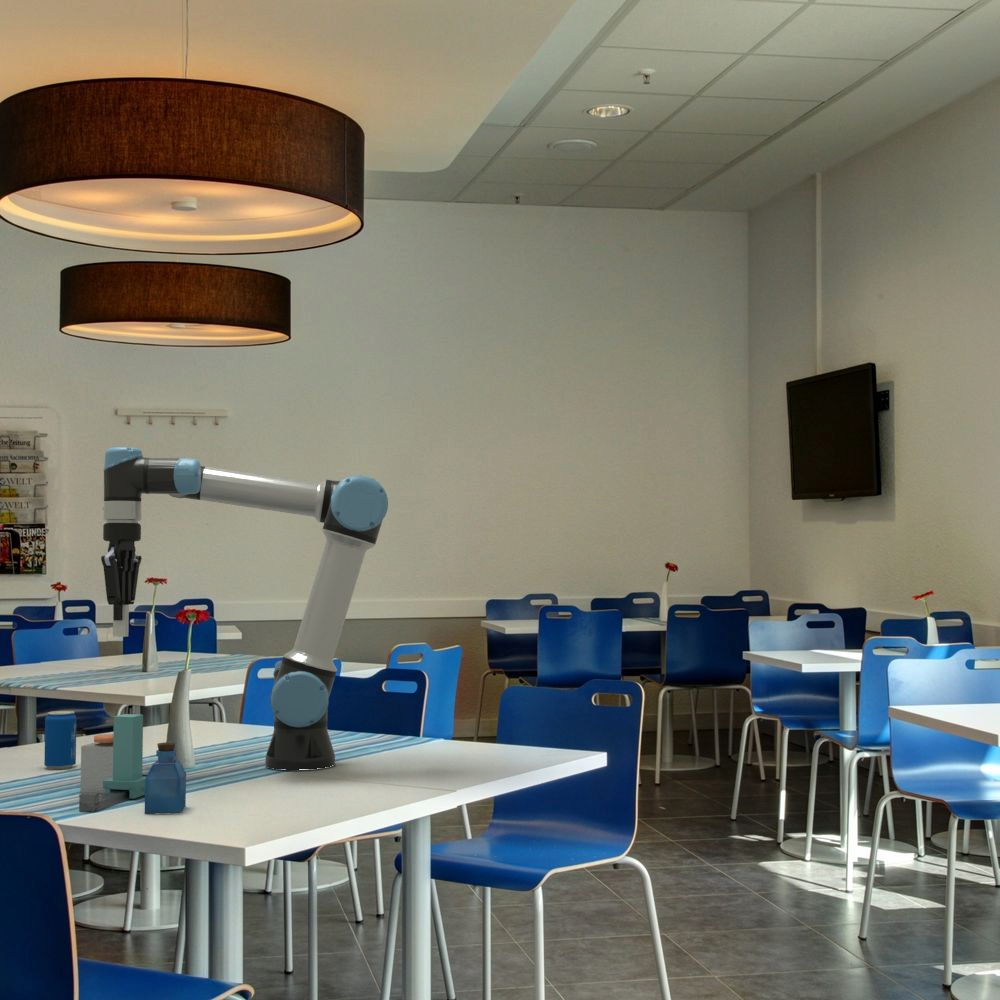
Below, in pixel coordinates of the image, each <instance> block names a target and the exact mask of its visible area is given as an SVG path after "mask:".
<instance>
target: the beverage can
mask: <svg viewBox="0 0 1000 1000" xmlns="http://www.w3.org/2000/svg"><path fill="white" fill-rule="evenodd" d="M44 720H45V721H44V762H43V763H44V766H45V767H46V768H47V769H48V770H56V771H57V770H60V771H61V770H68V769H69V770H70V769H72V768H73V766H75V765H76V763H77V762H76V761H77V716H76V715H75V711H73V710H56V711H49V712H47V715H46V717H45V719H44Z"/></svg>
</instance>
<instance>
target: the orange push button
mask: <svg viewBox="0 0 1000 1000" xmlns="http://www.w3.org/2000/svg"><path fill="white" fill-rule="evenodd" d="M95 742H97V743H99V745H103V746H112V745H113V734H112V733H108V734H106V733H105V734H96V735H94V736H93V743H95Z"/></svg>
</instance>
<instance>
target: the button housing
mask: <svg viewBox="0 0 1000 1000" xmlns="http://www.w3.org/2000/svg"><path fill="white" fill-rule="evenodd" d="M110 778H113V745H112V746H103V745H99V743H97V742H91V743H88V744H84V745H81V746H80V793H79V794H82V793H96V794H99V795H103V794H105V789H103V781H104V780H107V779H110Z"/></svg>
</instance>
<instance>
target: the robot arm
mask: <svg viewBox="0 0 1000 1000" xmlns="http://www.w3.org/2000/svg"><path fill="white" fill-rule="evenodd" d="M142 451H143V450H142V449H141V448H139V447H138V448H137V447H123V446H121V447H120V446H119V447H117V446H116V447H110V448H108V449H107V450H106V451H105V455H104V468H103V507H102V511H103V520H104V521H106V522H105V523H104V524H103V527H102V528H103V529H102V531H103V532H102V534H103V535H102V539H103V540H104V541H105V542H109V543H108V547H107V552H108V553H106V555H101V558H100V560H101V564H102V568H103V575H104V583H105V584H104V585H105V593H106V594H105V595H106V601H107V604H108V605H109V606H110V605H111V606H113V608H112V609H113V611H112V614H113V615H112V626H113V627H112V638H113V637H115V638H118V637H119V638H121V637H122V638H125V637H129V631H130V630H129V627H130V626H129V623H130V620H129V619H130V618H129V615H130V605H134V604H135V600H136V594H137V586H138V578H139V572H140V570H139V569H140V566H141V563H142V556H141V555H137V553H136V550H137V549H136V546H135V543H136V542H139V541H141V539H142V524H141V523H139V521H141V520H142V494H146V495H150V494H151V495H152V494H153V495H155V494H156V495H169V496H171V497H172V498H175V499H187V500H188V499H189V500H196V501H204V502H210V503H217V504H225V505H231V506H238V507H246V508H253V509H259V510H264V511H265V510H267V511H272V512H278V513H279V512H280V513H285V514H286V513H287V514H293V515H300V516H305V517H313V518H315V519H316V521H317V522H318V523H323V527H322V533H323V535H324V537H325V540H326V541H325V544H324V546H323V551H322V554H321V557H320V560H319V564H318V567H317V570H316V574H315V576H314V581H313V583H312V587H311V590H310V593H309V597H308V600H307V604H306V607H305V609H304V612H303V613H304V614H303V616H302V619H301V622H300V626H299V629H298V632H297V636H296V639H295V642H294V645H293V648H292V649H291V650H290V651H287V652H286V653H284V654H283V657H282V660H279V661H277V662H275V664H274V671H273V678H274V681H273V682H274V683H273V686H272V689H271V692H270V695H269V698H270V706H271V710H272V711H273V733H272V734H271V735H272V736H271V739H270V742H269V745H268V749H267V750H266V755H265V768H267V767H269V768H274V769H286V770H299V769H317V768H325V767H330V766H332V765H334V764H335V765H336V755H335V750H334V748H333V744H332V740H331V737H330V735H329V731H328V708H329V704H330V703H329V698H330V695H331V691H332V690H333V684H334V683H335V679H336V675H337V672H338V669H337V667H336V665H335V663H334V657H335V654H336V650H337V648H338V644H339V640H340V636H341V634H342V631H343V628H344V625H345V621H346V617H347V613H348V611H349V608H350V605H351V601H352V598H353V595H354V591H355V587H356V585H357V581H358V578H359V575H360V571H361V569H362V565H363V562H364V559H365V556H366V552H367V551H368V550H370V549H372V548H374V547H375V546H376V544H377V539H378V537H379V533H380V530H381V527H382V523H383V521H384V519H385V517H386V515H387V514H388V513H387V512H388V508H389V501H388V500H389V499H388V495H387V493H386V490H385V487H383V485H382V484H381V483H380V482H379V481H377V480H376V479H375V478H371V477H370V476H368V475H362V474H357V475H351V476H347V477H345V478H343V479H342V480H332V479H324V480H321V482H314V481H307V480H301V479H292V478H287V477H282V476H281V477H279V476H273V475H267V474H265V475H264V474H259V473H252V472H247V471H237V470H232V469H224V468H219V467H218V468H217V467H212V466H211V467H210V466H203V465H201V463H200V460H198V459H197V458H186V457H170V458H168V457H167V458H166V457H160V458H159V457H158V458H157V457H156V458H153V457H151V458H150V457H144V456H143V452H142ZM269 768H268V769H269ZM330 768H331V767H330ZM274 769H273V770H274ZM325 769H326V768H325Z"/></svg>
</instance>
